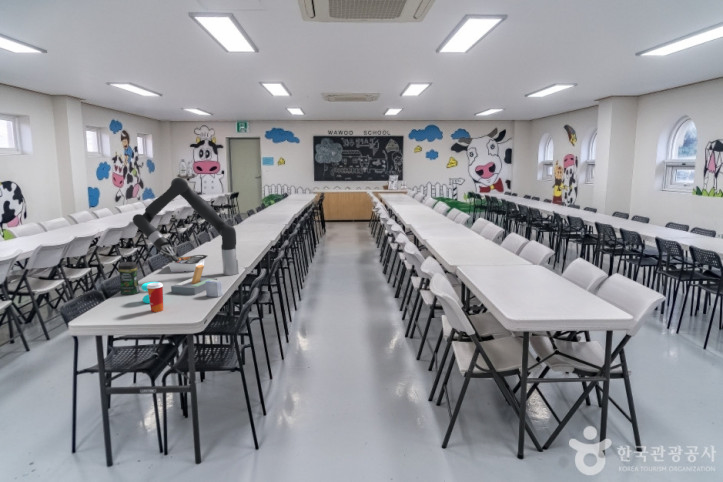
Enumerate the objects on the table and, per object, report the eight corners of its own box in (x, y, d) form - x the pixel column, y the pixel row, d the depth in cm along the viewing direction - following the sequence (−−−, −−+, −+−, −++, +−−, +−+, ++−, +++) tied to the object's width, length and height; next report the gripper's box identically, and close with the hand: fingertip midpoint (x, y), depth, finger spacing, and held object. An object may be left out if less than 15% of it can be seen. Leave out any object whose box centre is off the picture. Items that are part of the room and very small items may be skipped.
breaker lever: (190, 284, 269) (195, 266, 266) (196, 282, 274) (201, 264, 271) (193, 285, 269) (198, 267, 265) (199, 283, 273) (204, 265, 270)
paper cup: (152, 308, 236) (149, 282, 233) (167, 307, 237) (165, 281, 234) (146, 313, 228) (143, 286, 226) (162, 312, 229) (159, 285, 226)
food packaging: (176, 255, 335) (207, 254, 337) (177, 265, 337) (208, 264, 338) (164, 262, 311) (197, 262, 312) (165, 273, 312) (198, 272, 313)
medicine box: (223, 295, 257) (221, 280, 256) (218, 297, 253) (217, 282, 252) (211, 294, 260) (210, 279, 259) (206, 296, 256) (205, 281, 254)
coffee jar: (118, 295, 261) (114, 263, 258) (125, 291, 269) (122, 260, 265) (135, 295, 261) (131, 263, 257) (142, 291, 268) (138, 260, 265)
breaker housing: (171, 292, 264) (170, 285, 263) (195, 283, 284) (195, 276, 284) (194, 294, 259) (194, 287, 258) (217, 284, 280) (217, 278, 279)
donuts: (153, 280, 254) (164, 282, 248) (155, 297, 255) (166, 300, 250) (137, 284, 245) (148, 286, 240) (138, 302, 247) (149, 305, 242)
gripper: (153, 238, 267) (173, 259, 265) (169, 234, 279) (187, 254, 278) (147, 246, 269) (166, 267, 268) (162, 242, 282) (181, 262, 280)
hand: (177, 261), depth 273 cm, fingers closed
